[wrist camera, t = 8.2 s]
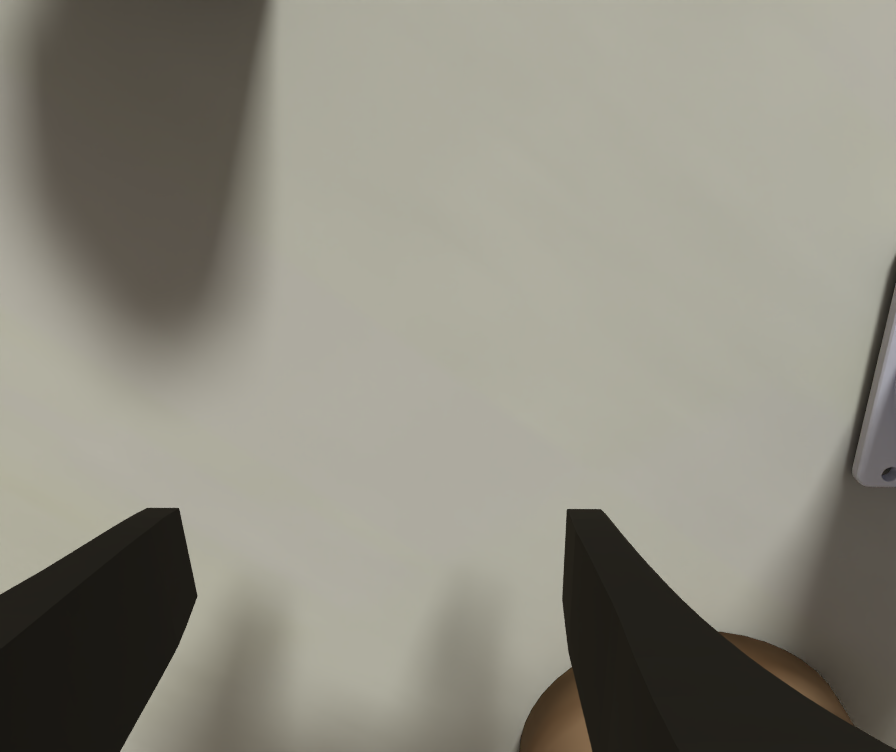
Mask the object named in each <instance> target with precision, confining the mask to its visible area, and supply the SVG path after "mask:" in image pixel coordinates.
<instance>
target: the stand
mask: <svg viewBox="0 0 896 752" xmlns="http://www.w3.org/2000/svg"><path fill="white" fill-rule="evenodd" d="M719 633H720V634H721V635H722V636H724V637H725V638H726V639H727V640H729V641H730V642H731V643H732V644H734V645H735V646H736V647H737V648H738V649H740V650H741V651H742V652H743V653H745V654H746V655H747V656H749V657H750V658H751V659H753V660H754V661H755V662H757V663H758V664H759V665H761V666H762V667H763V668H765V669H766V670H768V671H769V672H770V673H772V674H773V675H775V676H776V677H778V678H779V679H781V680H782V681H784V682H785V683H787V684H788V685H789V686H791V687H792V688H794V689H795V690H797V691H798V692H800V693H801V694H803V695H804V696H806V697H807V698H809V699H810V700H812V701H814V702H815V703H817V704H818V705H820V706H821V707H823V708H825V709H826V710H828V711H829V712H831V713H833V714H834V715H836V716H838V717H839V718H841V719H843V720H845V721H846V722H848V723H850V724H851V725H853V723H852V721H851V720H850V718H849V717H848V715H847V713H846V712H845V710H844V708H843V707H842V705H841V703H840V702H839V700H838V699H837V697H836V695H835V694H834V692H833V691H832V689H831V688H830V686H829V685H828V683H827V682H826V681H825V680H824V679H823V678H822V677H821V676H820V675H819V674H818V673H817V672H816V671H815V670H814V669H813V668H811V667H810V666H809V665H808V664H806V663H805V662H804V661H802V660H801V659H799V658H798V657H796V656H794V655H792V654H791V653H789V652H787V651H785V650H783V649H781V648H779V647H776V646H774V645H771V644H769V643H767V642H764V641H760V640H757V639H753V638H750V637H746V636H742V635H736V634H730V633H724V632H719ZM853 726H854V725H853ZM519 752H592V748H591V744H590V740H589V736H588V732H587V727H586V723H585V719H584V715H583V711H582V707H581V703H580V698H579V694H578V690H577V686H576V682H575V677H574V673H573V669H572V668H570V669H569V670H568V671H567V672H565V673H564V674H563V675H562V676H560V677H559V678H558V679H557V680H556V681H555V682H554V683H553V684H552V685H551V686H550V687H549V688H548V689H547V690H546V691H545V692H544V693H543V694H542V696H541V697H540V699H539V700H538V701H537V703H536V704H535V706H534V707H533V709H532V711H531V713H530V715H529V717H528V719H527V721H526V723H525V726H524V729H523V733H522V736H521V742H520V751H519Z"/></svg>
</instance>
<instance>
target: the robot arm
mask: <svg viewBox="0 0 896 752" xmlns="http://www.w3.org/2000/svg"><path fill="white" fill-rule="evenodd" d="M890 467H892V468H891V470H890V472H888V473H887V474H885V475H882V473H883V471H884V470H885V469H887V468H890ZM852 475H853V476H854V478H855V479H856V480H857V481H858V482H859V483H860V484H862V485H863V486H867V487H896V285H895V289H894V293H893V298H892V302H891V306H890V310H889V315H888V319H887V323H886V327H885V332H884V336H883V340H882V344H881V349H880V353H879V357H878V361H877V366H876V370H875V374H874V378H873V383H872V387H871V391H870V395H869V400H868V404H867V408H866V412H865V417H864V421H863V425H862V429H861V434H860V438H859V442H858V446H857V451H856V455H855V459H854V463H853V467H852ZM196 599H197V592H196V587H195V582H194V578H193V573H192V568H191V563H190V558H189V554H188V549H187V544H186V539H185V534H184V530H183V525H182V520H181V515H180V511H179V508H146V509H144V510H142V511H140V512H138V513H136V514H135V515H133V516H131V517H129V518H127V519H126V520H124V521H122V522H121V523H119V524H117V525H116V526H114V527H112V528H111V529H109V530H107V531H106V532H104V533H102V534H101V535H99V536H98V537H96V538H94V539H93V540H91V541H90V542H88V543H86V544H85V545H83V546H81V547H80V548H78V549H77V550H75V551H73V552H72V553H70V554H68V555H67V556H65V557H64V558H62V559H60V560H59V561H57V562H55V563H54V564H52V565H51V566H49V567H47V568H46V569H44V570H42V571H41V572H39V573H37V574H35V575H34V576H32V577H30V578H28V579H27V580H25V581H23V582H21V583H20V584H18V585H16V586H14V587H13V588H11V589H9V590H7V591H6V592H4V593H2V594H0V752H120V751H121V749H122V747H123V745H124V743H125V742H126V740H127V738H128V736H129V734H130V733H131V731H132V729H133V727H134V725H135V724H136V722H137V720H138V718H139V716H140V715H141V713H142V711H143V709H144V708H145V706H146V704H147V702H148V700H149V699H150V697H151V695H152V693H153V691H154V690H155V688H156V686H157V684H158V682H159V681H160V679H161V677H162V675H163V673H164V671H165V670H166V668H167V666H168V664H169V662H170V660H171V659H172V657H173V655H174V653H175V651H176V649H177V647H178V645H179V643H180V640H181V638H182V635H183V633H184V630H185V628H186V626H187V623H188V620H189V618H190V615H191V612H192V609H193V607H194V604H195V601H196ZM562 601H563V610H564V619H565V627H566V635H567V643H568V651H569V656H570V660H571V665H572V669H573V673H574V677H575V682H576V686H577V690H578V694H579V698H580V703H581V707H582V711H583V715H584V719H585V723H586V727H587V732H588V736H589V740H590V744H591V748H592V752H896V749H894V748H892V747H890V746H888V745H886V744H884V743H883V742H881V741H879V740H877V739H875V738H874V737H872V736H870V735H869V734H867V733H865V732H863V731H862V730H860V729H858V728H857V727H855V726H853V725H851V724H850V723H848V722H846V721H845V720H843V719H841V718H839V717H838V716H836V715H834V714H833V713H831V712H829V711H828V710H826V709H825V708H823V707H821V706H820V705H818V704H817V703H815V702H814V701H812V700H810V699H809V698H807V697H806V696H804V695H803V694H801V693H800V692H798V691H797V690H795V689H794V688H792V687H791V686H789V685H788V684H787V683H785V682H784V681H782V680H781V679H779V678H778V677H776V676H775V675H773V674H772V673H770V672H769V671H768V670H766V669H765V668H763V667H762V666H761V665H759V664H758V663H757V662H755V661H754V660H753V659H751V658H750V657H749V656H747V655H746V654H745V653H743V652H742V651H741V650H740V649H738V648H737V647H736V646H735V645H734V644H732V643H731V642H730V641H729V640H727V639H726V638H725V637H724V636H722V635H721V634H720V633H719V632H717V631H716V630H715V629H714V628H713V627H711V626H710V625H709V624H708V623H707V622H706V621H704V620H703V619H702V618H701V617H700V616H699V615H698V614H697V613H696V612H695V611H694V610H693V609H691V608H690V607H689V606H688V605H687V604H686V603H685V602H684V601H683V600H682V599H681V598H680V597H679V596H678V595H677V594H676V593H675V592H674V591H673V590H672V589H671V588H670V587H669V586H668V585H667V584H666V583H665V582H664V581H663V580H662V578H661V577H660V576H659V575H658V574H657V573H656V572H655V571H654V570H653V569H652V568H651V567H650V566H649V565H648V564H647V562H646V561H645V560H644V559H643V558H642V557H641V556H640V555H639V553H638V552H637V551H636V550H635V549H634V548H633V546H632V545H631V544H630V543H629V542H628V541H627V539H626V538H625V537H624V536H623V535H622V533H621V532H620V531H619V530H618V528H617V527H616V526H615V525H614V524H613V522H612V521H611V520H610V519H609V517H608V516H607V515H606V514H605V513H604V512H603V511H602V510H601V509H567V518H566V538H565V557H564V577H563V597H562Z"/></svg>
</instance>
